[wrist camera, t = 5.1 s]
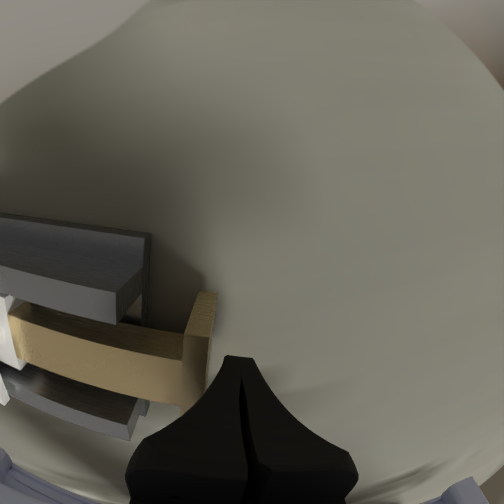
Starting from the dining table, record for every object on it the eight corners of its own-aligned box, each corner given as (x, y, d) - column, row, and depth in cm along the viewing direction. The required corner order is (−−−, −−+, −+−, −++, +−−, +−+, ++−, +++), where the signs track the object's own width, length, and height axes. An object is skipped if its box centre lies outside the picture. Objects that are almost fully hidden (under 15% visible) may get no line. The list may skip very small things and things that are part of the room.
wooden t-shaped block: (217, 293, 13) (209, 337, 9) (206, 397, 14) (198, 451, 10) (35, 260, 12) (-13, 284, 8) (48, 358, 13) (15, 395, 10)
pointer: (25, 252, 11) (-24, 274, 7) (44, 374, 13) (13, 410, 9) (0, 246, 11) (-47, 265, 7) (20, 363, 12) (-12, 396, 9)
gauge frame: (151, 234, 12) (102, 266, 8) (149, 405, 15) (127, 469, 10) (-17, 211, 12) (-76, 226, 7) (3, 355, 14) (-36, 393, 9)
